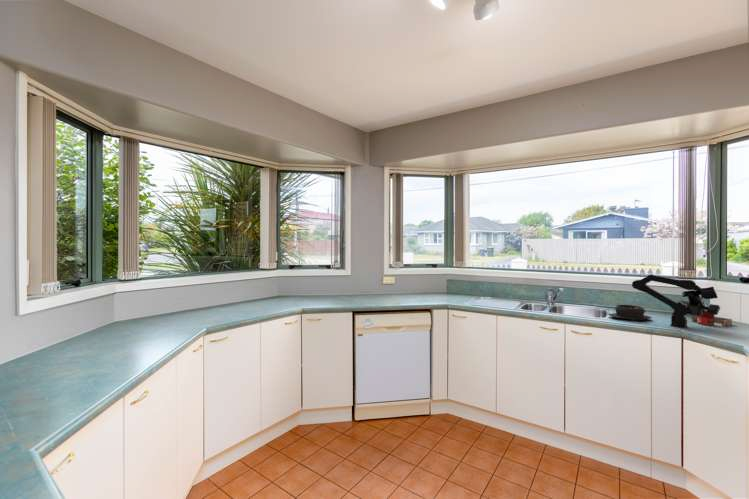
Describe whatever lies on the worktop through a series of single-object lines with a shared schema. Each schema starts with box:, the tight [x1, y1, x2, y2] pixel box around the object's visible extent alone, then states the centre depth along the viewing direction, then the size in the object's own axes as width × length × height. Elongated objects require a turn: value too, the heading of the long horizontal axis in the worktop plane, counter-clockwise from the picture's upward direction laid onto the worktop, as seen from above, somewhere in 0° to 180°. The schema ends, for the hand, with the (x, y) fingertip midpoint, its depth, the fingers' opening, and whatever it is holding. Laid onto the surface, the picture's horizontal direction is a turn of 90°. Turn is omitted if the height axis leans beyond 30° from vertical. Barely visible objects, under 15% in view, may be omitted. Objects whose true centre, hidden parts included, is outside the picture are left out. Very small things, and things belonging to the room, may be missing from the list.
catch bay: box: [691, 316, 733, 328], centre depth 223 cm, size 12×16×4 cm
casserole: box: [608, 304, 653, 321], centre depth 236 cm, size 25×19×8 cm
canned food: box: [696, 311, 716, 327], centre depth 220 cm, size 8×8×11 cm
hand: (701, 316), depth 216 cm, fingers closed
